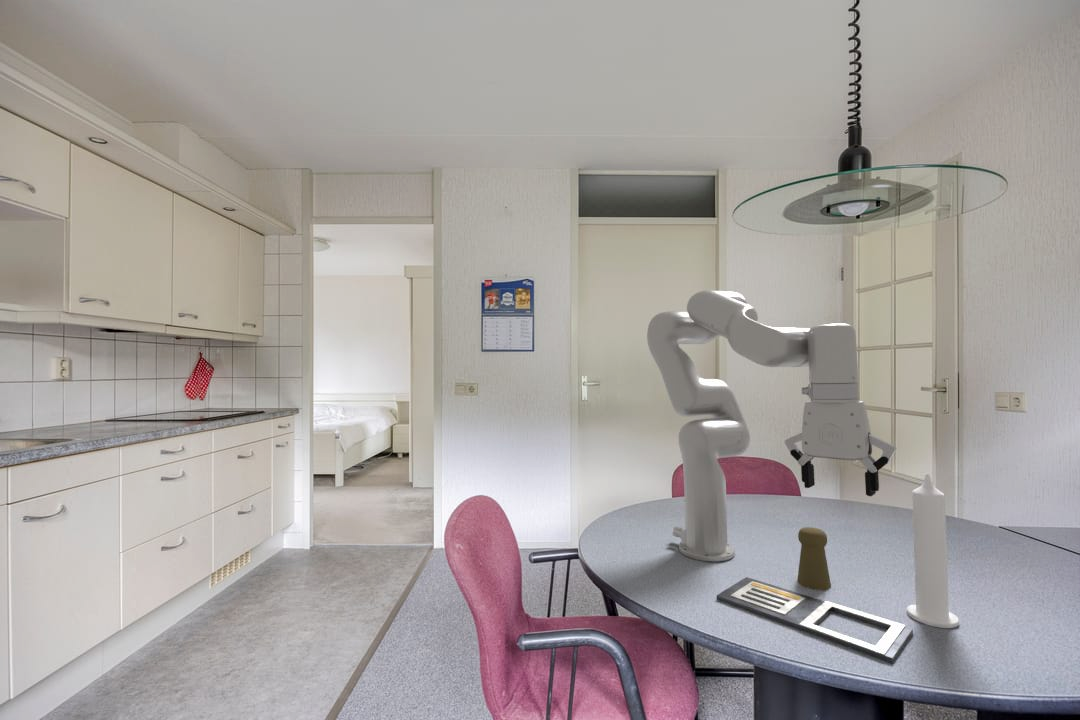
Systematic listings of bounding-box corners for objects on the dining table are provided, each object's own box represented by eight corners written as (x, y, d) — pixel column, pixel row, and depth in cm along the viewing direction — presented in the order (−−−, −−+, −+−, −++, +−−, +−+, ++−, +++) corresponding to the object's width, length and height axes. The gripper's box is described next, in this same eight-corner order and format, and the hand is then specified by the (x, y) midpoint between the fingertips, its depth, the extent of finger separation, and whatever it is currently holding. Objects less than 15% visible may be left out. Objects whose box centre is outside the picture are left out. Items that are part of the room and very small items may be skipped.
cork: (800, 574, 104) (799, 522, 105) (833, 582, 101) (831, 527, 101) (794, 584, 100) (792, 530, 100) (828, 592, 96) (826, 535, 96)
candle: (959, 616, 86) (954, 472, 86) (958, 633, 81) (953, 479, 81) (909, 604, 91) (904, 467, 91) (904, 619, 85) (900, 474, 86)
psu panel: (716, 599, 94) (716, 593, 94) (746, 580, 102) (746, 575, 102) (892, 663, 73) (892, 656, 73) (912, 633, 81) (912, 626, 81)
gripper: (775, 394, 92) (779, 487, 91) (886, 394, 79) (892, 502, 78) (791, 392, 97) (795, 480, 96) (897, 392, 84) (903, 494, 83)
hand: (839, 490), depth 87 cm, fingers open, 9 cm apart
